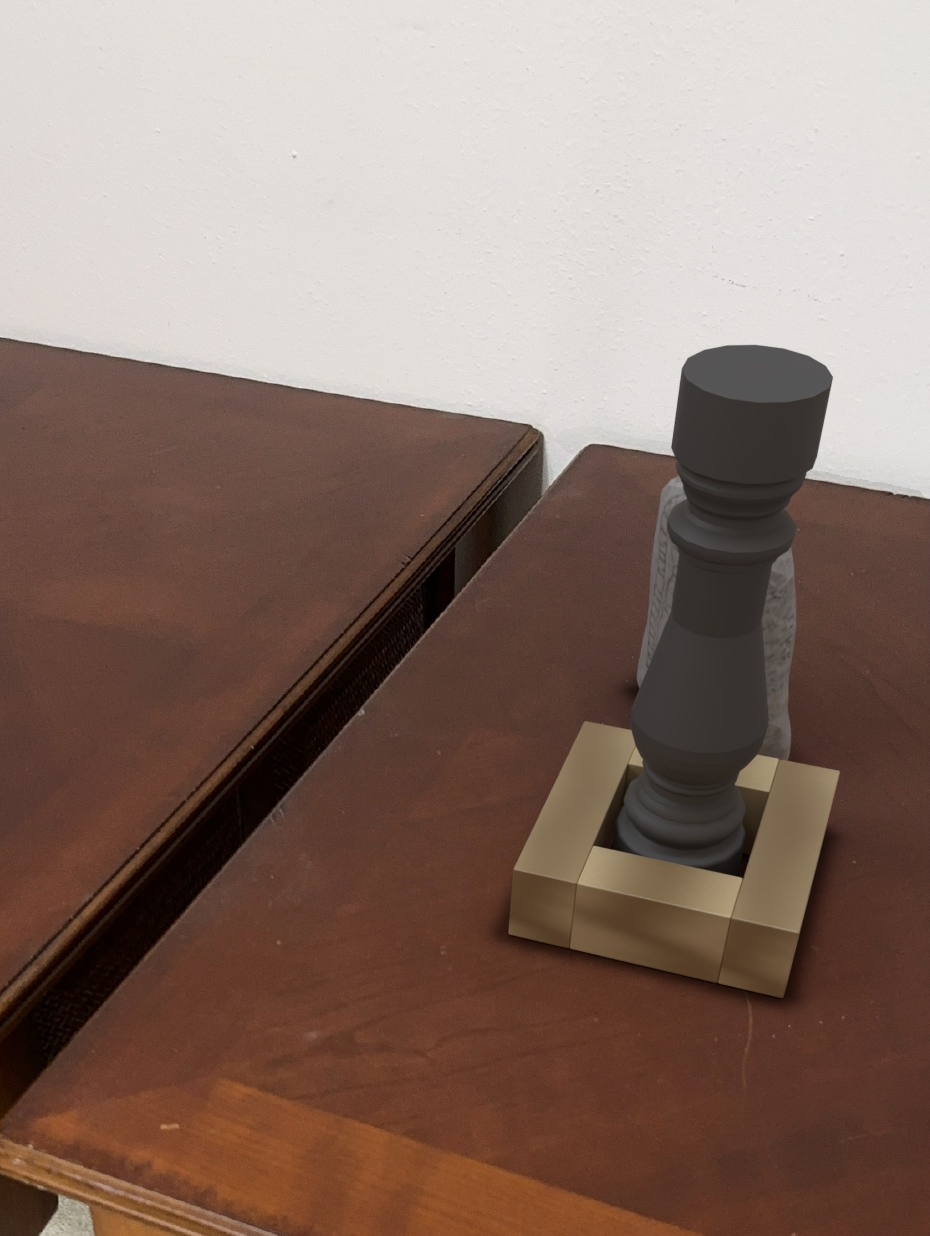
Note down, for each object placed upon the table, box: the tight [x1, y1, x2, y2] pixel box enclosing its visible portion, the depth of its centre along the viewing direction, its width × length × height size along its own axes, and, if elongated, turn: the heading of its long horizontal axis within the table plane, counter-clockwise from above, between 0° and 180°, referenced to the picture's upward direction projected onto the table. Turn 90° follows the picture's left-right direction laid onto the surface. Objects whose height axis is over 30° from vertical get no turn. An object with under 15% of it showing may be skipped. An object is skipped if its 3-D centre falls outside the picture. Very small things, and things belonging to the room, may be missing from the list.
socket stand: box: [508, 720, 841, 999], centre depth 74 cm, size 13×13×4 cm
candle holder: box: [611, 344, 834, 877], centre depth 67 cm, size 6×6×25 cm
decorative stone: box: [636, 475, 797, 761], centre depth 80 cm, size 11×6×15 cm, turn 21°
